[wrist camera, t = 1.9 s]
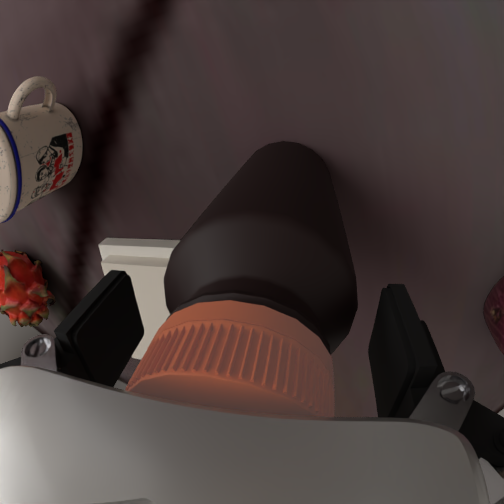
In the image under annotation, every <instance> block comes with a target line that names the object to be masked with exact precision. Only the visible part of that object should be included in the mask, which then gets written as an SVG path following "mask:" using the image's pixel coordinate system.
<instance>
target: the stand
mask: <svg viewBox="0 0 504 504" xmlns="http://www.w3.org/2000/svg"><path fill="white" fill-rule="evenodd" d="M179 242H180V240H159V239H128V238H106V239H105V240H103V241H102V242H101V243H100V244H99V249H100V252H101V256H102V260H103V261H102V262H101V265H102V268H103V272H104V275H106V274H107V273H108V272H109V271H111V270H121V271H125V272H126V273H127V275H129V276H130V277H131V281H132V285H133V289H134V293H135V297H136V301H137V304H138V308H139V312H140V316H141V319H142V323H143V326H144V336H143V338H142V340H141V341H140V343H139V345H138V346H137V348H136V350H135V351H134V353H133V355H132V358H136V359H142V358H143V356H144V354H145V352H146V351H147V348H148V346H149V345H150V343H151V341H152V339H153V338H154V336H155V334H156V332H157V331H158V329H159V328H160V327H161V325H162V324H163V323H164V322H165V321H166V319H167V317H168V316H169V315H170V313H169V311H168V309H167V306H166V301H165V291H164V275H165V272H166V268H167V265H168V262H169V258H170V255H171V253H172V251H173V249H174V248H175V247H176V245H177V244H178V243H179Z"/></svg>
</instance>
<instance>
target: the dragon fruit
mask: <svg viewBox="0 0 504 504" xmlns="http://www.w3.org/2000/svg"><path fill="white" fill-rule="evenodd" d="M40 263H41V262H40V261H39V260H37V261H35V262H34V264H35V265H33V263H32V262H31V261H30V260H29V258H28V257H27V255H26V253H25V252H21V251H16V250H15V251H14V252H10V251H3V250H1V252H0V312H1V313H2V314H6V315H8V317H9V318H10V322H11V323H12V325H14V326H16V321H18V323H19V325H20V326H21V327H23V326H27V325H29V326H30V327H32V326H38V325H39V324H40V323H41V322H42V320H43V318H44V319H45V318H46V320H47V319H48V315H49V310H48V308H47V303H46V302H47V300H48V298H50V299H53V301H52V302H51V303H50V306H51V305H53V304H54V303H55V302H56V301H55V298H54V295H53V294H52V293H51V292H50V291H48V290H47V289H46V288H47V286H48V281H47V280H46V279H43V277H42V268H41V265H40ZM41 264H42V263H41Z"/></svg>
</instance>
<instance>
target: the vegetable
mask: <svg viewBox="0 0 504 504" xmlns="http://www.w3.org/2000/svg"><path fill="white" fill-rule="evenodd" d="M484 318H485V321H486V323H487V326H488V328H489V330H490V332H491V334H492V336H493V338H494V340H495V342H496V344H497V346H498V347H499V349H500V351H501V352H502V353H503V355H504V276H503V277H502V278H501V279H500V280H499V281H498V283H496V284H495V285H494V287H493V289H492V290H491V292H490V293H489V295H488V297H487V299H486V301H485V304H484Z"/></svg>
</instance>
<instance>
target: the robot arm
mask: <svg viewBox="0 0 504 504" xmlns="http://www.w3.org/2000/svg"><path fill="white" fill-rule="evenodd" d="M54 332H55V334H56V338H55V339H53V338H52V337H51V336H49V335H38V336H35V337H33V338H31V339H30V340H28V341H27V342H26V343H25V344H24V346H23V348H22V352H21V357H19V358H17V359H14V360H11V361H8V362H5V363H2V364H0V504H504V418H503V417H502V416H500V415H498V414H497V413H495V412H493V411H491V410H490V409H488V408H486V407H485V406H483V405H481V404H479V403H478V402H476V401H474V396H475V390H474V386H473V384H472V382H471V381H470V380H469V379H468V378H467V377H465V376H464V375H462V374H460V373H457V372H445V370H444V367H443V365H442V362H441V359H440V357H439V354H438V352H437V349H436V347H435V344H434V342H433V339H432V337H431V334H430V332H429V330H428V327H427V325H426V323H425V322H424V321H423V320H421V321H420V319H419V317H418V314H417V312H416V310H415V307H414V305H413V303H412V301H411V298H410V296H409V294H408V292H407V289H406V287H405V285H404V284H388V286H387V288H383V289H382V292H381V296H380V301H379V305H378V310H377V314H376V319H375V323H374V327H373V331H372V335H371V339H370V343H369V349H368V354H369V360H370V366H371V372H372V378H373V384H374V391H375V397H376V404H377V412H378V417H319V416H295V415H279V414H267V413H256V412H247V411H238V410H229V409H222V408H214V407H208V406H201V405H195V404H189V403H183V402H178V401H172V400H167V399H162V398H157V397H152V396H148V395H143V394H139V393H134V392H130V391H126V390H122V389H118V388H114V385H115V383H116V381H117V380H118V378H119V376H120V375H121V373H122V371H123V370H124V368H125V366H126V365H127V363H128V361H129V360H130V358H131V356H132V355H133V353H134V351H135V350H136V348H137V346H138V345H139V343H140V341H141V340H142V338H143V336H144V326H143V323H142V319H141V316H140V312H139V308H138V304H137V301H136V297H135V293H134V289H133V285H132V281H131V277H130V276H129V275H127V273H126V272H125V271H121V270H111V271H109V272H108V273H107V274H106V275H105V276H104V277H103V279H102V280H101V281H100V282H99V283H98V284H97V285H96V286H95V287H94V288H93V289H92V290H91V291H90V292H89V293H88V294H87V295H86V296H85V297H84V298H83V299H82V301H81V302H80V303H79V304H78V305H77V306H76V307H75V308H74V309H73V310H72V311H71V312H70V314H69V315H68V316H67V317H66V318H65V319H64V320H63V321H62V322H61V324H60V325H59V326H58V327H57V328H56V329H55V330H54Z"/></svg>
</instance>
